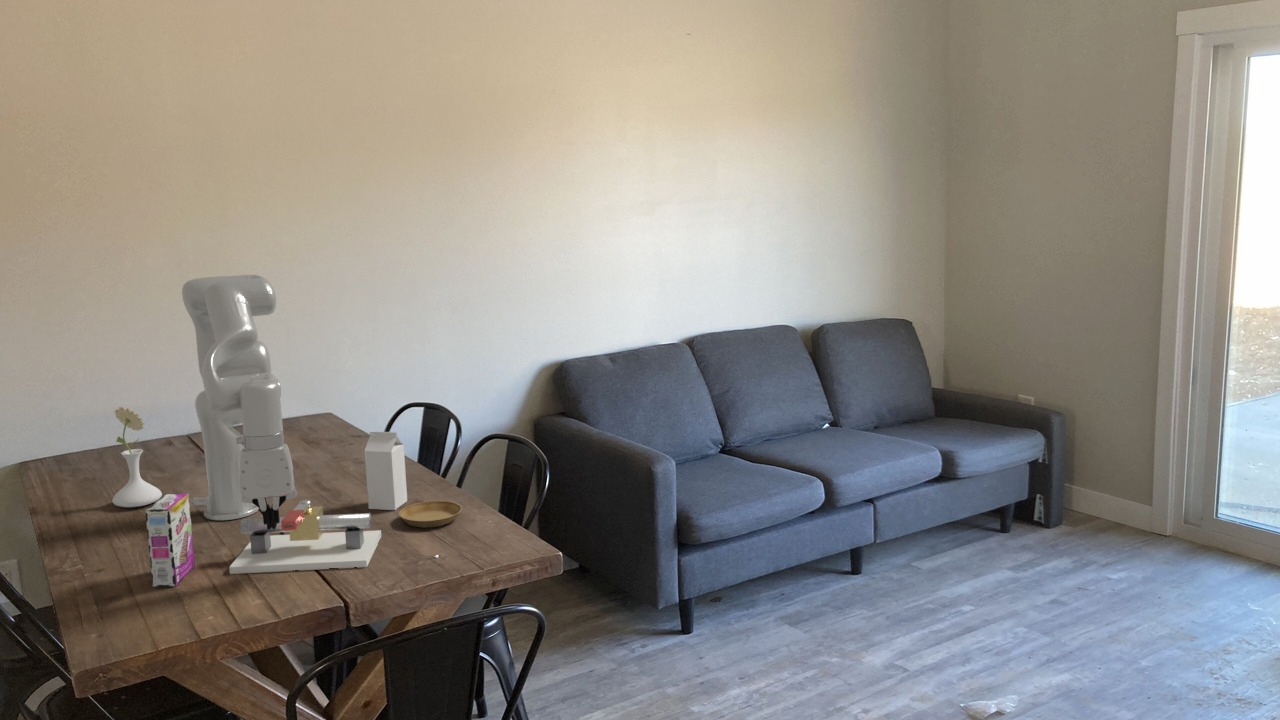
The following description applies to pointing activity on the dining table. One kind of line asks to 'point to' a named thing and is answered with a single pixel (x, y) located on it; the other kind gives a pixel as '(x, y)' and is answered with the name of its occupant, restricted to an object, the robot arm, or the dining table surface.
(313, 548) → the valve board
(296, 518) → the valve lever
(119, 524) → the dining table surface
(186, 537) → the candy bar box
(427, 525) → the plant saucer
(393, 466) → the milk carton
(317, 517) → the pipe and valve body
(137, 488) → the flower in vase
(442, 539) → the dining table surface
